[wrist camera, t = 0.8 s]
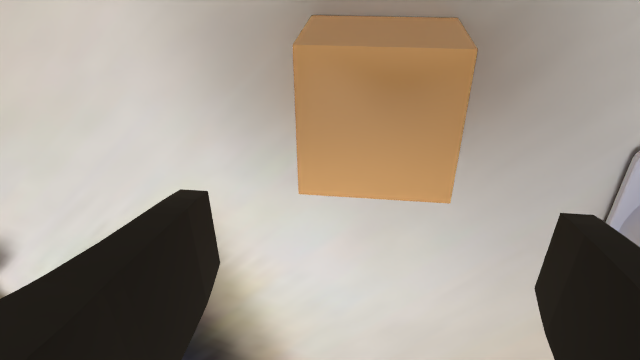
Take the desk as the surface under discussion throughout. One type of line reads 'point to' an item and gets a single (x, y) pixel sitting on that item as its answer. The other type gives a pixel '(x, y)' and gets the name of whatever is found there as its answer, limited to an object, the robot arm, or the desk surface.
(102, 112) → the desk surface
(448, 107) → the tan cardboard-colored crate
